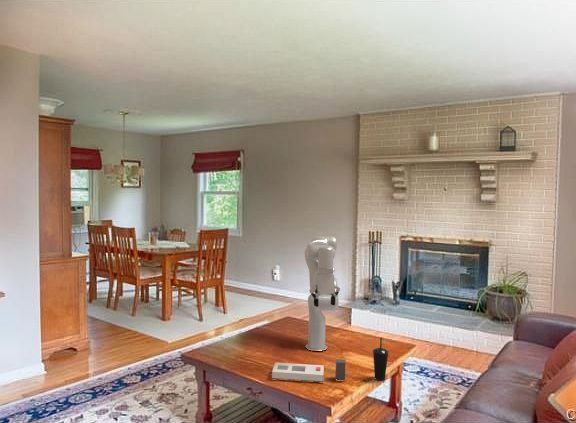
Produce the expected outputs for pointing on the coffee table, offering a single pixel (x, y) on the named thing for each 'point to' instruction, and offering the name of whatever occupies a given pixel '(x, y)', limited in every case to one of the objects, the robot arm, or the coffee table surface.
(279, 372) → the power strip
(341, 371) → the plug
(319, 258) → the robot arm
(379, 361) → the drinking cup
